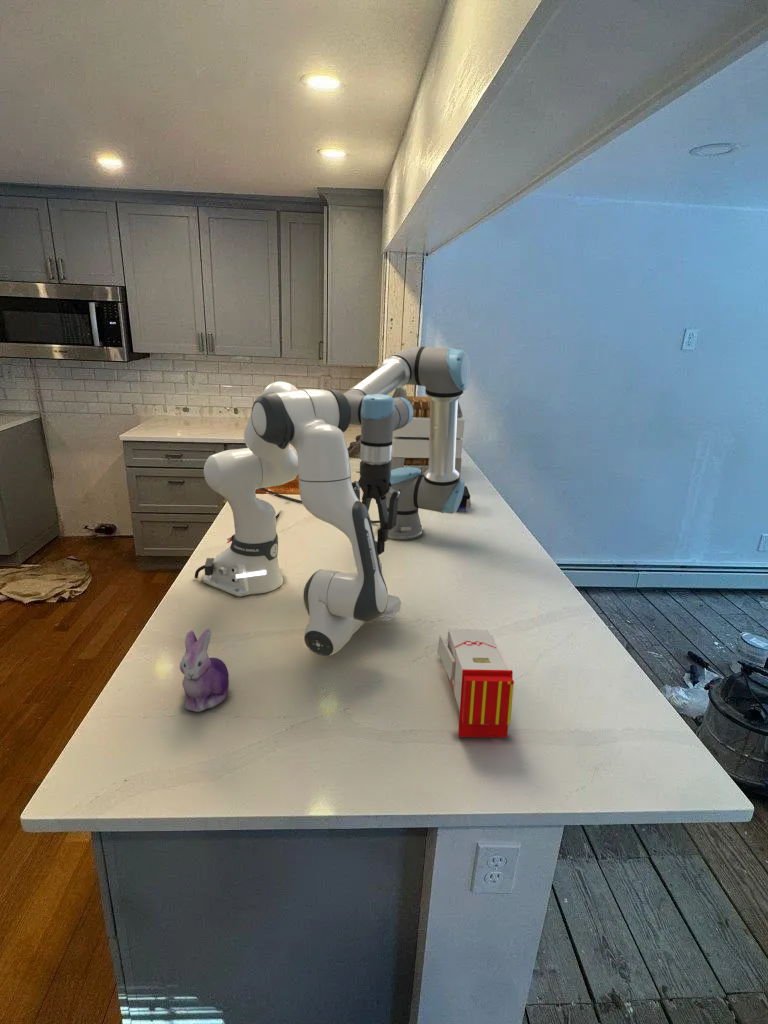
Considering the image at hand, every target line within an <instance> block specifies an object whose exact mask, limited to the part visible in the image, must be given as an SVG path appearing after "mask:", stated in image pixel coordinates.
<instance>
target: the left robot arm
mask: <svg viewBox="0 0 768 1024" xmlns="http://www.w3.org/2000/svg"><path fill="white" fill-rule="evenodd" d="M350 420H351V407H350V404H349V402H348V400H347V398H346V396H345V395H344V394H343V392H341V391H339V390H337V389H333V388H332V389H331V388H324V389H319V388H318V389H317V388H316V389H315V388H300V389H298V388H297V387H296V386H295V385H293V384H292V383H289V382H286V381H274V382H271V383H269V384H268V385H267V386H266V387H265V388H264V390H263V391H262V392H261V393H260V395H259V396H257V397H256V398H255V400H254V402H253V404H252V407H251V413H250V416H249V418H248V421H247V423H246V426H245V429H244V431H243V439H244V442H245V445H246V447H244V448H234V449H226V450H223V451H220V452H217V453H214V454H211V455H209V456H208V457H207V459H206V461H205V463H204V466H203V478H204V480H205V483H206V484H207V486H208V487H209V488H210V489H211V490H213V491H214V492H215V493H218V494H219V495H220V496H222V497H223V498H224V499H225V500H226V502H227V504H229V506H230V509H231V512H232V517H233V524H234V534H231V536H230V537H229V538H227V539H226V541H227V542H226V544H229V543H230V542H231V543H230V546H229V547H227V548H226V549H225V550H223V551H221V552H220V553H219V554H217V555H216V556H215V557H207V558H206V560H205V562H204V563H205V564H203V565H201V566H199V567H198V568H197V569H196V571H195V573H194V578H195V579H199V575H200V572H201V571H203V570H204V576H203V578H202V582H203V583H204V584H207V585H209V586H211V587H213V588H217V589H219V590H222V591H223V592H226V593H228V594H231V595H234V596H236V597H245V596H248V595H258V594H264V593H269V592H272V591H275V590H276V589H278V588H280V587H281V586H282V585H283V583H284V578H283V575H282V572H281V568H280V563H279V562H280V561H279V556H278V555H279V536H278V533H277V519H276V516H277V512H276V509H275V507H274V506H273V504H272V503H270V502H269V501H266V500H264V499H261V498H258V497H257V495H256V490H260V489H259V488H264V489H267V488H272V487H279V486H282V485H284V484H288V483H290V482H292V481H294V480H296V479H297V477H298V492H299V497H300V500H301V501H302V503H301V504H302V506H303V507H304V508H305V509H306V510H307V512H309V513H310V514H311V515H312V516H313V517H314V518H316V519H318V520H320V521H321V522H324V523H327V524H329V525H331V526H333V527H334V528H336V529H338V530H339V531H340V532H341V533H343V534H344V535H345V536H346V537H347V539H348V540H349V542H350V544H351V549H352V553H353V558H354V564H355V568H356V573H352V572H347V571H346V572H345V571H339V570H331V569H318V570H316V571H315V572H313V573H312V575H311V576H310V577H309V579H308V580H307V581H306V583H305V585H304V588H303V594H302V595H303V605H304V608H305V610H306V613H307V615H308V622H307V624H306V625H307V626H306V628H305V631H304V633H303V640H304V644H305V645H306V647H307V649H309V650H310V651H311V652H312V653H314V654H316V655H318V656H324V657H329V656H332V655H334V654H336V653H338V652H339V651H340V650H341V649H342V648H343V647H344V646H345V645H347V643H348V642H349V641H350V640H351V638H352V637H353V634H355V633H356V632H357V631H358V630H359V629H361V627H362V626H363V625H364V623H371V622H373V621H375V620H377V621H381V622H387V621H390V620H392V619H394V617H396V616H397V615H398V614H399V613H400V611H401V607H402V599H401V598H400V597H399V596H396V595H392V594H389V593H388V587H387V584H386V581H385V579H384V576H383V571H382V572H381V568H380V563H379V558H378V553H377V548H376V543H375V541H376V539H375V533H374V529H373V523H371V520H372V519H371V517H370V516H371V515H370V513H369V511H368V510H367V508H366V506H365V505H364V504H363V503H362V501H361V500H360V501H359V499H358V498H357V496H356V494H355V492H354V489H353V486H352V482H353V481H352V471H351V462H350V457H349V454H348V444H347V441H346V440H347V439H346V436H345V434H344V433H345V432H346V431H347V430H348V429H349V426H350V425H351V424H350ZM290 445H291V446H292V447H293V448H292V447H291V446H290Z"/></svg>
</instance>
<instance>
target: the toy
mask: <svg viewBox="0 0 768 1024" xmlns="http://www.w3.org/2000/svg"><path fill="white" fill-rule="evenodd" d="M446 640H447V643H446V641H445V639H444V636H443V635H442V634H439V637H438V646H437V656H438V657H439V659H440V661H441V663H442V666H443V668H444V670H445V672H446V674H447V677H448V679H449V681H450V684H451V687H452V690H453V693H454V697H455V701H456V705H457V708H458V711H459V714H458V715H459V716H458V730H457V731H458V732H457V737H458V738H508V731H509V726H510V725H511V717H512V707H513V697H514V696H513V695H514V684H515V680H514V679H513V673H514V671H513V670H512V669H508V667H507V665H506V662H505V661H504V659H503V658H502V655H501V653H500V651H499V649H498V647H497V643H496V639H495V637H494V635H493V634H491V632H490V631H489V629H467V628H466V629H465V628H463V629H461V628H460V629H459V628H448V630H447V639H446Z"/></svg>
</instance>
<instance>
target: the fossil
mask: <svg viewBox="0 0 768 1024" xmlns="http://www.w3.org/2000/svg"><path fill="white" fill-rule="evenodd" d="M354 440H355V441H351V442H350V443H349V446H347V448H348V454H349V458H352V457H355V456H357V455H360V448H361V434H358V435H356V436H355V438H354Z"/></svg>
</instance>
